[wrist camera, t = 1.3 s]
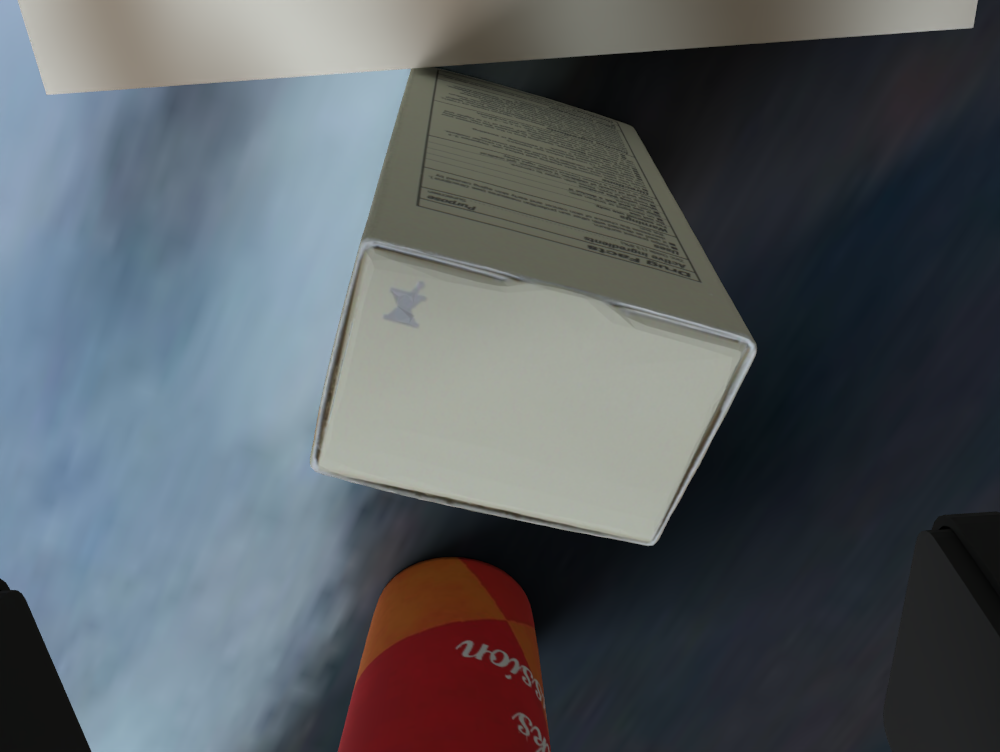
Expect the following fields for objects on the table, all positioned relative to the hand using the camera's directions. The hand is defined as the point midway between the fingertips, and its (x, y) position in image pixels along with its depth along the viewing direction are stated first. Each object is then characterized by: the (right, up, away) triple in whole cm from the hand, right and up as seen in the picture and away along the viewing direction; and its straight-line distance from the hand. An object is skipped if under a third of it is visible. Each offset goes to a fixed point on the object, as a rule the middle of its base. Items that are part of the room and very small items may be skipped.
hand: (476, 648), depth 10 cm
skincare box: (+1, +8, +15) cm, 17 cm away
